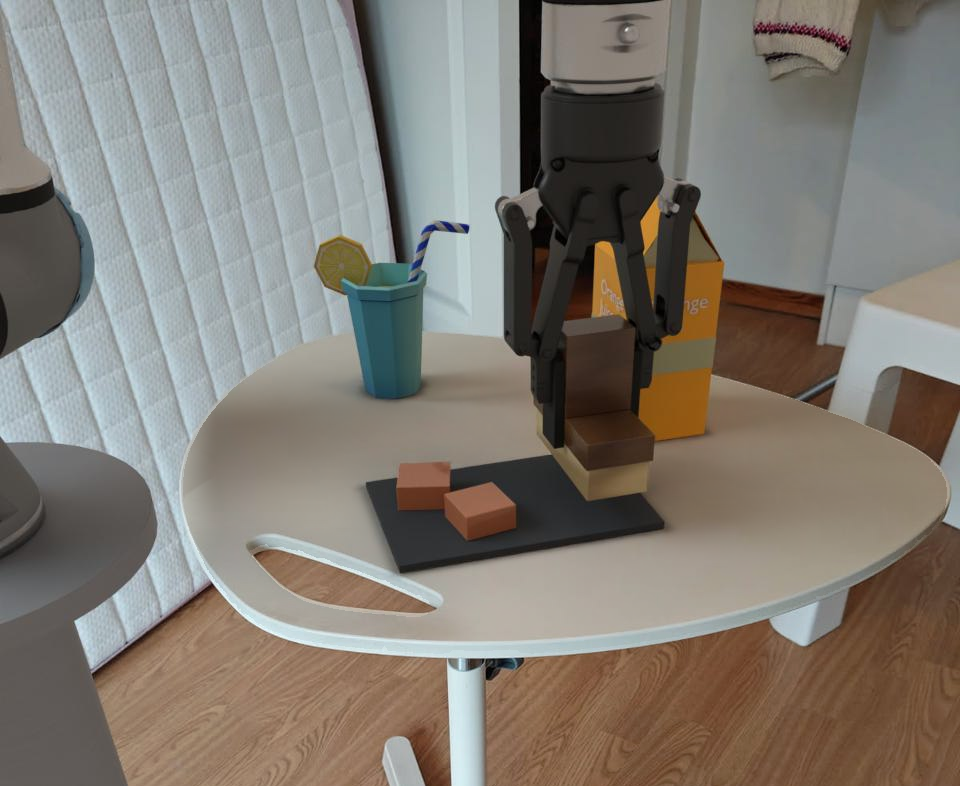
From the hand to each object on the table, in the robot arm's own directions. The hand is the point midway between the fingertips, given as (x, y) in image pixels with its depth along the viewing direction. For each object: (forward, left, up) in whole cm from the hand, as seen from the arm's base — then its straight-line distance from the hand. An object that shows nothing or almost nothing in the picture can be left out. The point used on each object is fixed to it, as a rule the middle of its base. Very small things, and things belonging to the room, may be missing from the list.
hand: (589, 434), depth 75 cm
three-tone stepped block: (0, 0, -2) cm, 2 cm away
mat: (-6, +1, -5) cm, 8 cm away
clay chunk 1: (-12, +3, -5) cm, 13 cm away
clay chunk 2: (-9, -2, -5) cm, 10 cm away
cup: (-9, +26, -6) cm, 28 cm away
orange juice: (+10, +12, -6) cm, 17 cm away
